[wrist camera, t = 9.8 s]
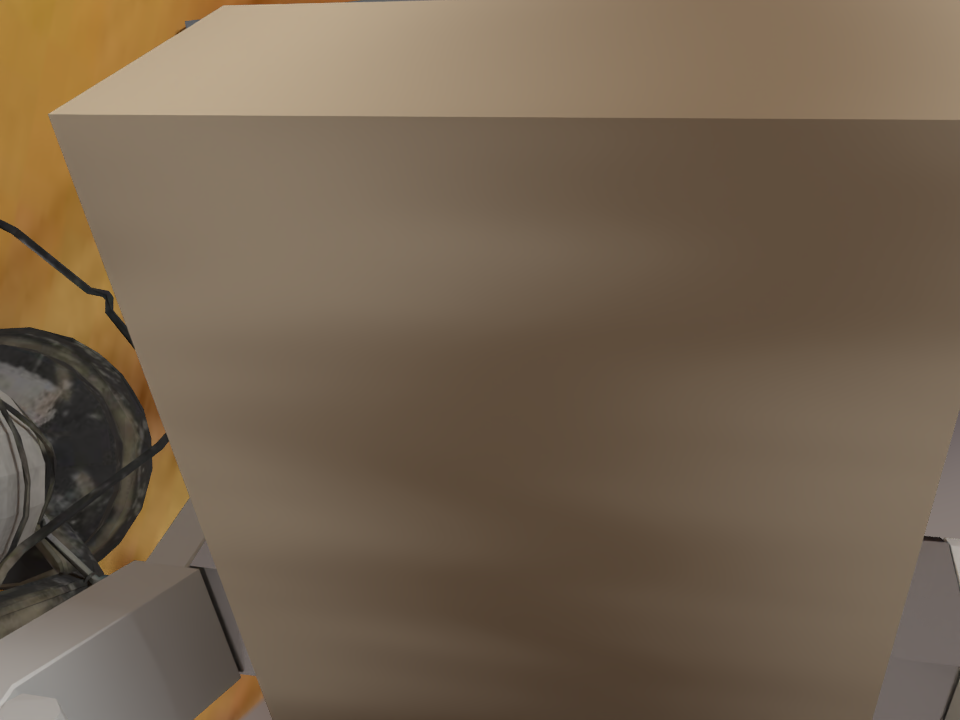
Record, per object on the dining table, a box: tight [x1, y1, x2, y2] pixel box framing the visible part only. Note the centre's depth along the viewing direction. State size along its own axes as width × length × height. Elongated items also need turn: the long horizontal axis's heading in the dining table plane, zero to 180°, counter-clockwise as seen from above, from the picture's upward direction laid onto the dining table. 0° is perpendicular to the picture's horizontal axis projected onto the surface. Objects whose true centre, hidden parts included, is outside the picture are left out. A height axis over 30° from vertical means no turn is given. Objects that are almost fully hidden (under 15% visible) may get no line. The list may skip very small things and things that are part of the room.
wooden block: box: [48, 0, 960, 720], centre depth 9 cm, size 6×2×12 cm
